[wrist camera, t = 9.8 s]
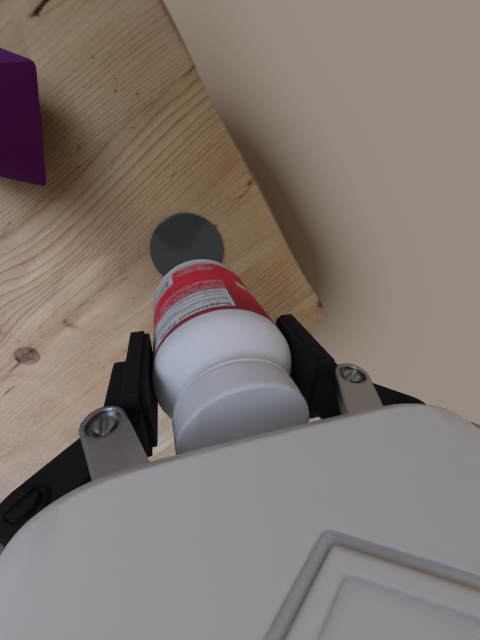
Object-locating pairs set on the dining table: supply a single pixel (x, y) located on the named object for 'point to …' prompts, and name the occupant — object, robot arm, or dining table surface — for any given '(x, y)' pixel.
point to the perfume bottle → (20, 121)
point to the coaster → (184, 241)
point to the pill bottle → (219, 360)
